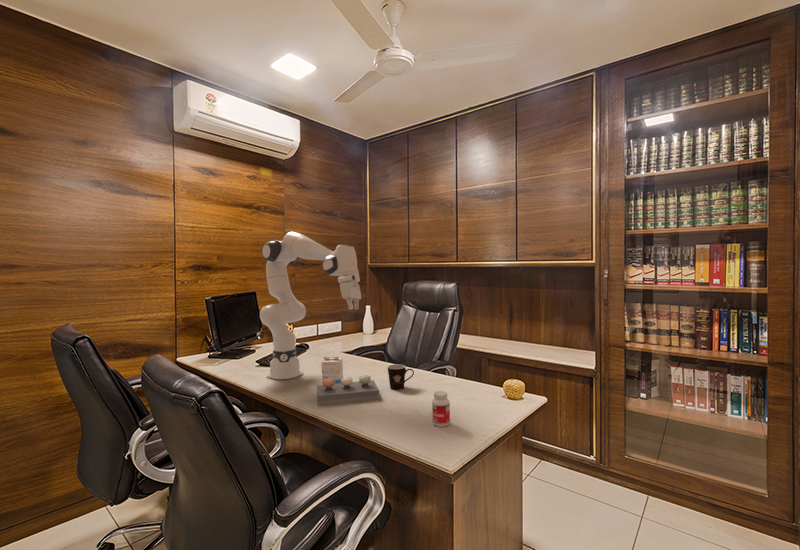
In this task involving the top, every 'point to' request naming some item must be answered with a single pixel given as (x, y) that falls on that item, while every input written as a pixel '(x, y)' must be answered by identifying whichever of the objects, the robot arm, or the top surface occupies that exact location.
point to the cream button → (346, 382)
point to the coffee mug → (397, 376)
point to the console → (347, 393)
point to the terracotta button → (328, 383)
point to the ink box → (332, 369)
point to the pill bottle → (441, 409)
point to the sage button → (364, 380)
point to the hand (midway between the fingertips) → (354, 309)
